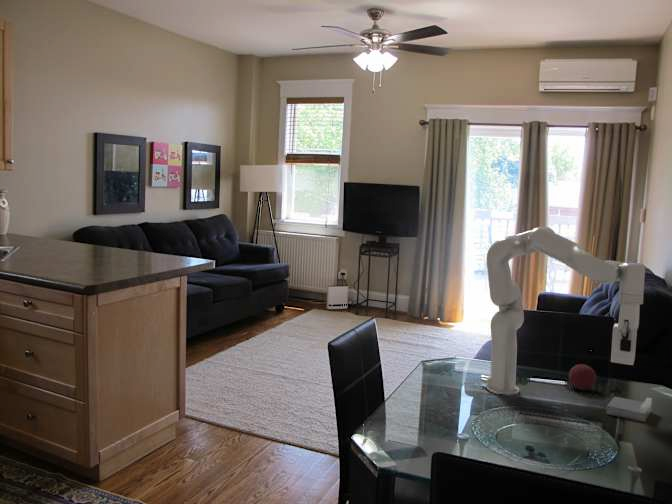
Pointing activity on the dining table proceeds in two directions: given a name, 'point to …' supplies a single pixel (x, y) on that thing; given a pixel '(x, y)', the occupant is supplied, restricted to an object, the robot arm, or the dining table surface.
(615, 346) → the supplement box
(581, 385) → the decorative ball
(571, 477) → the dining table surface
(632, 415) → the stand plate
